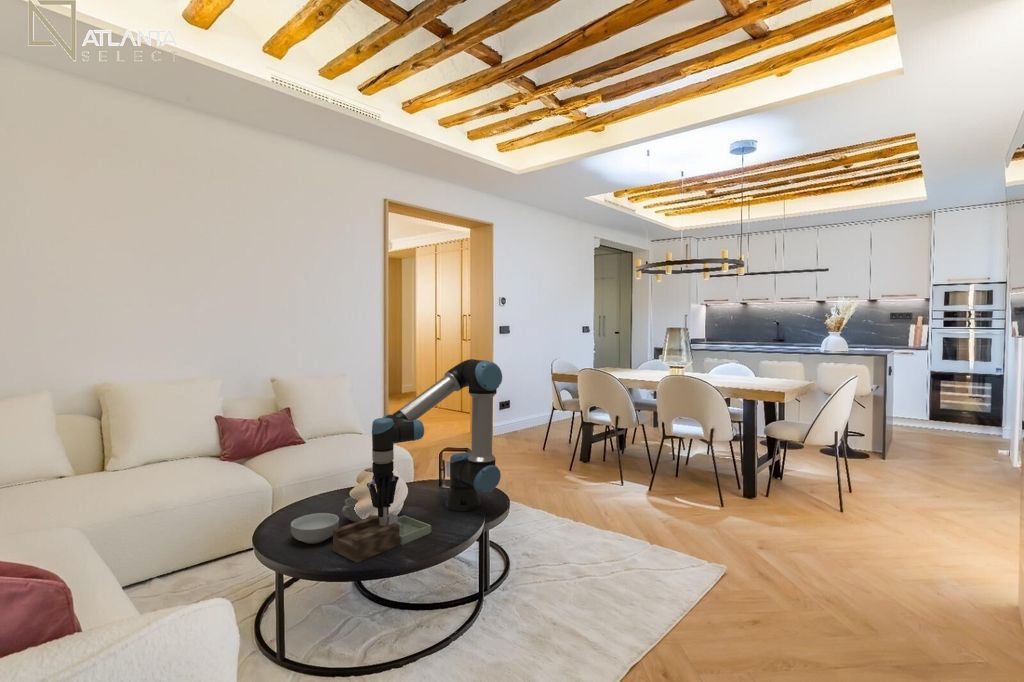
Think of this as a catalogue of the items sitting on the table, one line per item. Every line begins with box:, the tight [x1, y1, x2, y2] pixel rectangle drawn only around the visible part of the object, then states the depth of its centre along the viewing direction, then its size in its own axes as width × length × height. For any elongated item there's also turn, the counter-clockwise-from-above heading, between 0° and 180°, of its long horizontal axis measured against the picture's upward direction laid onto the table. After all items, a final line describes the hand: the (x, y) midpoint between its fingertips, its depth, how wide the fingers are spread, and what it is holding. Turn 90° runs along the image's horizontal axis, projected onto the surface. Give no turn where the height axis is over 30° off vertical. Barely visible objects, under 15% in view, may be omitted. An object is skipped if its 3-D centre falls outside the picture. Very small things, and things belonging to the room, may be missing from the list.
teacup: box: [341, 496, 362, 523], centre depth 209 cm, size 14×11×8 cm
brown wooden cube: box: [381, 512, 399, 527], centre depth 192 cm, size 4×4×4 cm
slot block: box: [332, 515, 401, 564], centre depth 184 cm, size 18×14×8 cm
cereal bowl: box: [290, 512, 340, 545], centre depth 191 cm, size 17×17×7 cm
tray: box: [397, 514, 432, 546], centre depth 197 cm, size 14×16×3 cm
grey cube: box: [397, 522, 404, 535], centre depth 194 cm, size 4×4×4 cm
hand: (383, 524), depth 190 cm, fingers closed
